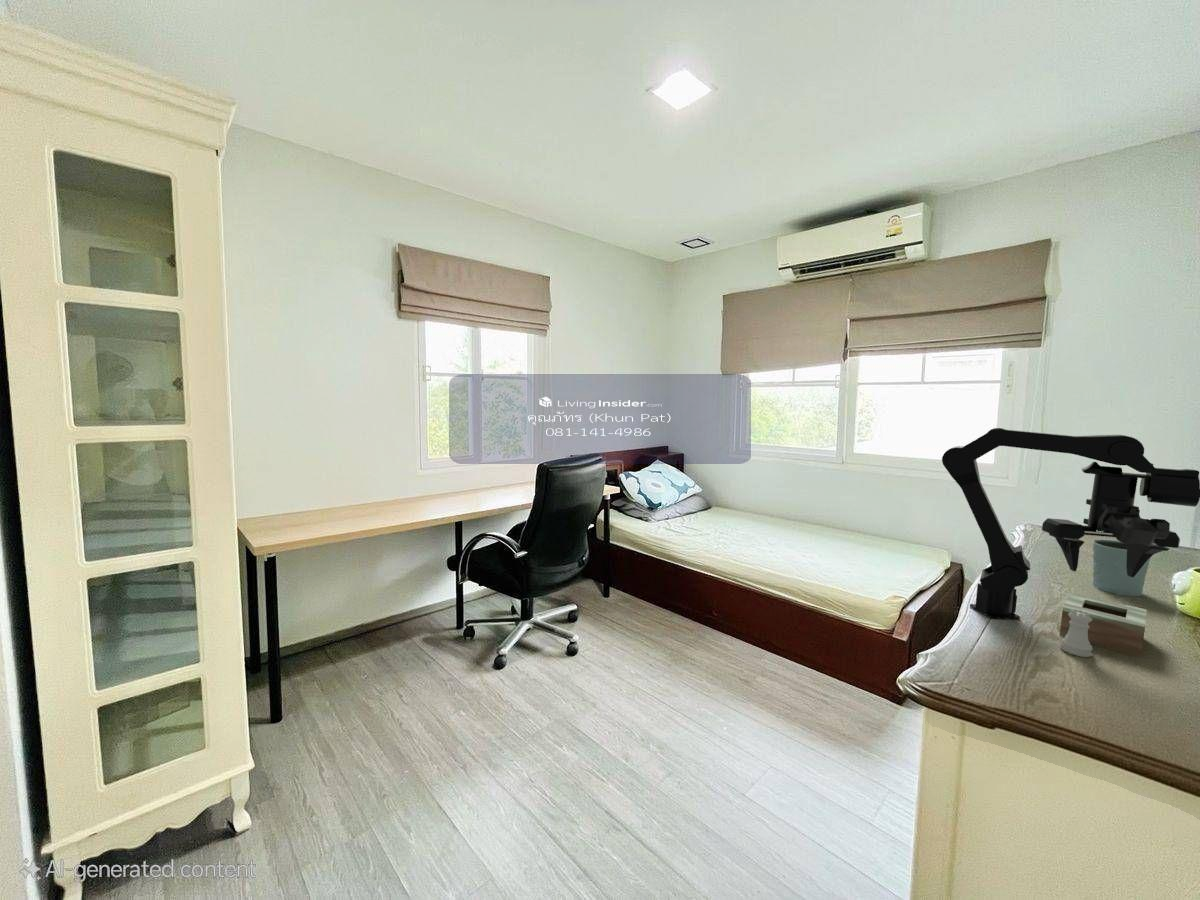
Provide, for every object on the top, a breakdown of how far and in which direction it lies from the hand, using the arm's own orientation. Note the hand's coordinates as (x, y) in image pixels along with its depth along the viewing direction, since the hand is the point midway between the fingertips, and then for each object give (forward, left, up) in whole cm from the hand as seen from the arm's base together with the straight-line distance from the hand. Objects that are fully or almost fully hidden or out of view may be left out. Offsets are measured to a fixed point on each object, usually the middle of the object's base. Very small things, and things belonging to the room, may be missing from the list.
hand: (1101, 573), depth 94 cm
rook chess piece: (-10, -6, -14) cm, 18 cm away
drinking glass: (+32, +25, -14) cm, 43 cm away
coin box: (+2, 0, -13) cm, 14 cm away
